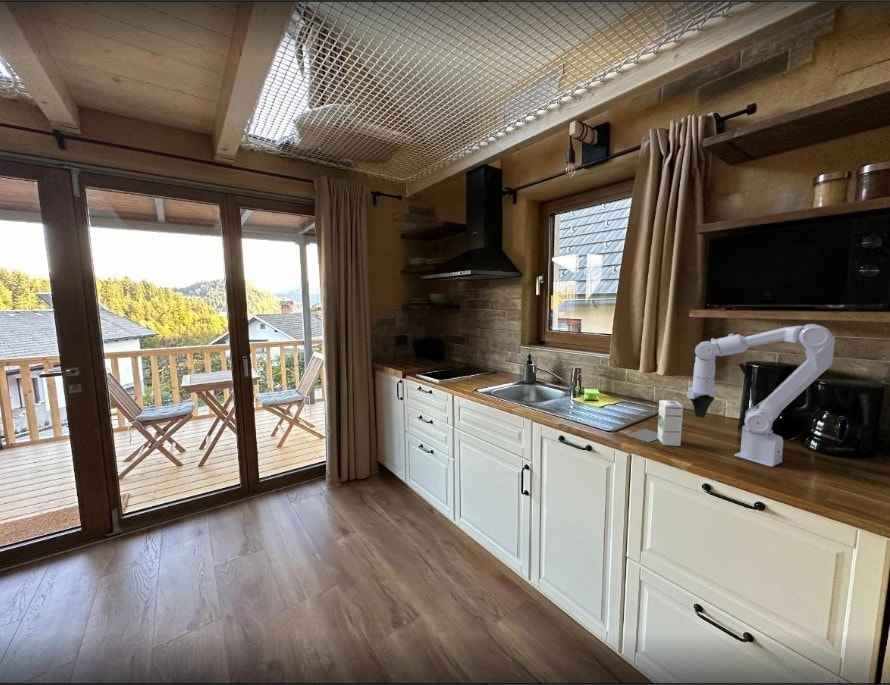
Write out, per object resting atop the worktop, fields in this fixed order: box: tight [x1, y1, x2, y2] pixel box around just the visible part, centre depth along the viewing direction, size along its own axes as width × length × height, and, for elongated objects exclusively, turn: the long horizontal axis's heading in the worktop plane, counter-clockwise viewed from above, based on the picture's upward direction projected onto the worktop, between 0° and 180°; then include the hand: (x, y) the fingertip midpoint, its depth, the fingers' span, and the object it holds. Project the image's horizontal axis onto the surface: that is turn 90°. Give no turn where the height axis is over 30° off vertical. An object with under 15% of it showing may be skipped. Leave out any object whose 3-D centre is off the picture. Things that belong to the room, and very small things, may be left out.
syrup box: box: [657, 399, 684, 447], centre depth 125 cm, size 6×6×14 cm
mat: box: [625, 428, 659, 443], centre depth 133 cm, size 8×12×1 cm
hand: (700, 416), depth 121 cm, fingers closed
